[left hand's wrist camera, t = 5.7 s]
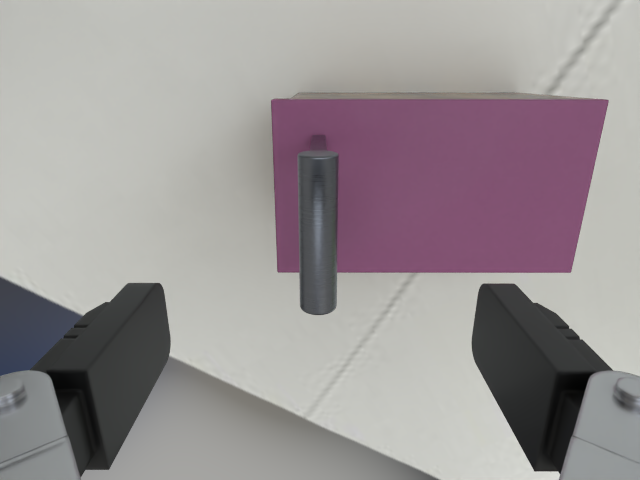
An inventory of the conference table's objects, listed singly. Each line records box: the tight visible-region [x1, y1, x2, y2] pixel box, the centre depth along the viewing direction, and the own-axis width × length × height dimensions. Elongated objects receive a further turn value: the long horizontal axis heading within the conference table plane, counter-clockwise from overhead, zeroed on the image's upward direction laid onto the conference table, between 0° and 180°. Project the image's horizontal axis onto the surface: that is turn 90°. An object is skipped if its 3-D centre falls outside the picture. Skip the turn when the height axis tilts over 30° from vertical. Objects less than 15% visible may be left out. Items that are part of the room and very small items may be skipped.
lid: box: [271, 99, 608, 315], centre depth 20 cm, size 17×9×8 cm, turn 90°
